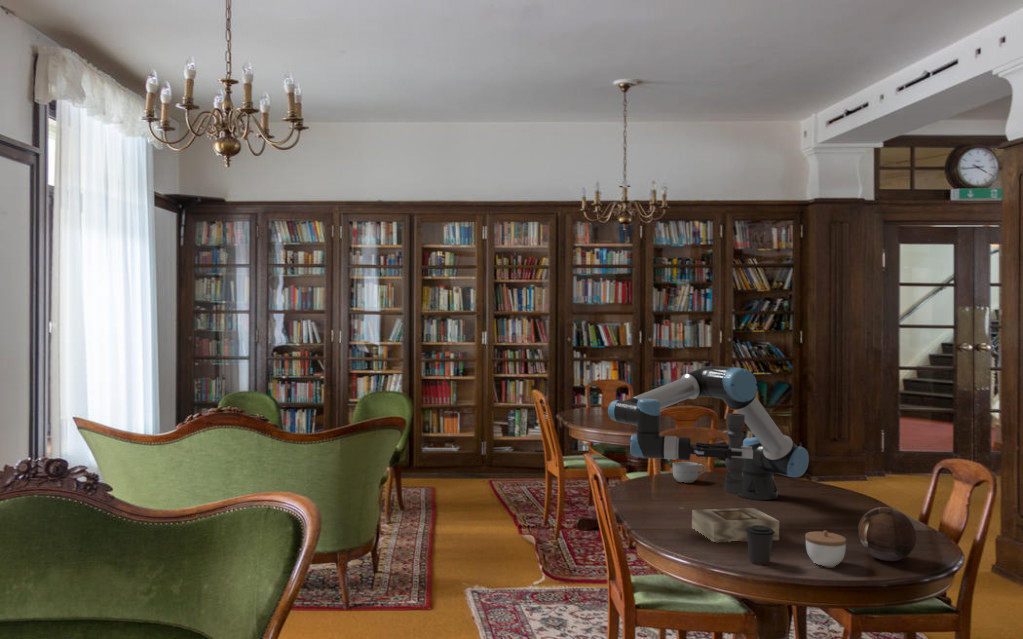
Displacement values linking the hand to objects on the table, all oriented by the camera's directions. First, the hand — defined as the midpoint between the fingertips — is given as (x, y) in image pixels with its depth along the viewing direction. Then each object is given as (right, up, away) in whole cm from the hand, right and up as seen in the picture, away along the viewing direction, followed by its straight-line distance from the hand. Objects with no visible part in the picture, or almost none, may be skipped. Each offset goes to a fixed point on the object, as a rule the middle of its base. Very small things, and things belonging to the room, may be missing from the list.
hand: (752, 452), depth 236 cm
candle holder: (-5, -13, +1) cm, 14 cm away
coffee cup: (-7, -27, -26) cm, 38 cm away
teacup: (-1, -27, +78) cm, 83 cm away
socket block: (-5, -26, +1) cm, 27 cm away
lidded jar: (+12, -27, -27) cm, 40 cm away
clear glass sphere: (+31, -27, -23) cm, 47 cm away
